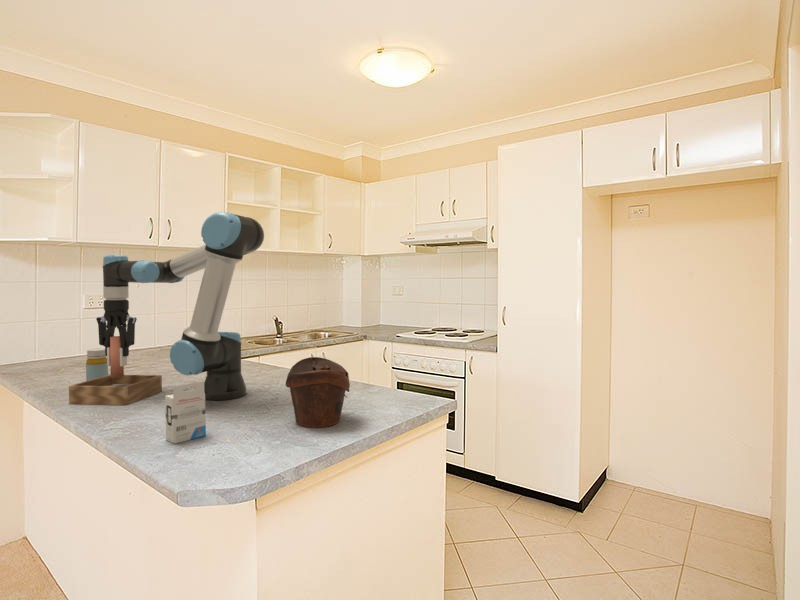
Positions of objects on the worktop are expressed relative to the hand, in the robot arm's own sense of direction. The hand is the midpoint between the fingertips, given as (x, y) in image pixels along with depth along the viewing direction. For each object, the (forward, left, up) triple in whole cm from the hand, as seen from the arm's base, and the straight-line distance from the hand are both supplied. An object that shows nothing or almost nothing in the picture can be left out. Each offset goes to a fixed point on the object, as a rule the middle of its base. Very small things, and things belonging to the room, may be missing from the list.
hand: (117, 365), depth 162 cm
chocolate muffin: (-78, +22, -12) cm, 82 cm away
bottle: (+17, -12, -12) cm, 24 cm away
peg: (0, 0, -4) cm, 4 cm away
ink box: (-47, +39, -12) cm, 62 cm away
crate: (0, 0, -11) cm, 11 cm away
